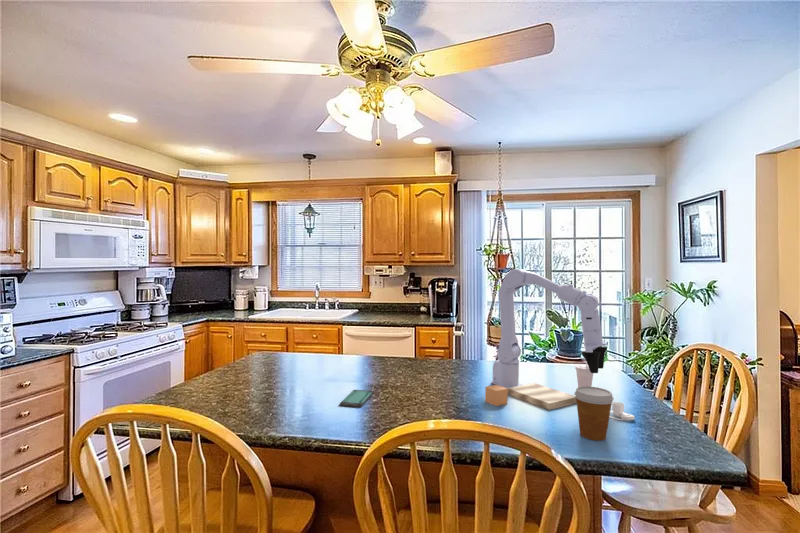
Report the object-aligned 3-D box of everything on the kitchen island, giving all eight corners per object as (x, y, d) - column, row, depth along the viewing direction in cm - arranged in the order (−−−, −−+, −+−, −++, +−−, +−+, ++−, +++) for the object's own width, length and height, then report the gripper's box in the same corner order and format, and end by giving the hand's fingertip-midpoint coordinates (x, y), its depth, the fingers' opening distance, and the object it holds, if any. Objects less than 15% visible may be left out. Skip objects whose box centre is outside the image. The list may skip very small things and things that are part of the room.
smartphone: (339, 403, 129) (353, 389, 144) (338, 407, 129) (353, 392, 144) (361, 405, 128) (374, 390, 142) (361, 409, 128) (374, 394, 142)
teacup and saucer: (638, 424, 120) (639, 410, 120) (609, 421, 121) (609, 407, 121) (627, 413, 129) (627, 400, 129) (600, 411, 130) (600, 398, 130)
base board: (506, 393, 145) (507, 388, 145) (534, 388, 152) (534, 382, 152) (549, 409, 129) (549, 403, 129) (577, 402, 136) (577, 396, 136)
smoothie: (596, 397, 143) (597, 357, 143) (576, 395, 144) (577, 356, 144) (591, 391, 149) (592, 353, 149) (572, 390, 150) (573, 352, 150)
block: (485, 401, 136) (485, 386, 136) (496, 399, 139) (496, 384, 139) (496, 406, 132) (496, 390, 132) (507, 403, 134) (507, 388, 134)
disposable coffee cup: (567, 428, 114) (568, 385, 114) (599, 428, 115) (600, 385, 115) (585, 443, 105) (586, 396, 105) (620, 443, 106) (621, 396, 106)
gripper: (599, 332, 131) (605, 375, 130) (609, 327, 143) (614, 366, 142) (576, 333, 136) (581, 374, 135) (587, 327, 147) (592, 366, 146)
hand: (597, 370), depth 138 cm, fingers open, 7 cm apart
